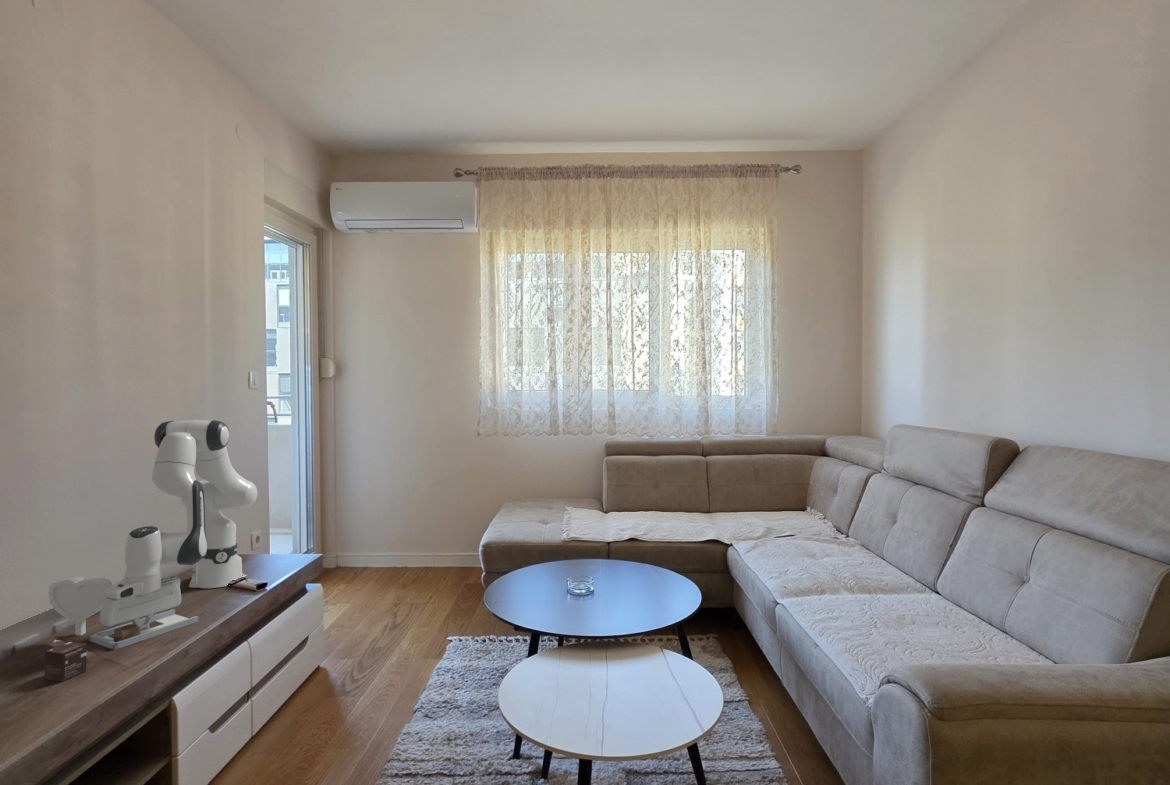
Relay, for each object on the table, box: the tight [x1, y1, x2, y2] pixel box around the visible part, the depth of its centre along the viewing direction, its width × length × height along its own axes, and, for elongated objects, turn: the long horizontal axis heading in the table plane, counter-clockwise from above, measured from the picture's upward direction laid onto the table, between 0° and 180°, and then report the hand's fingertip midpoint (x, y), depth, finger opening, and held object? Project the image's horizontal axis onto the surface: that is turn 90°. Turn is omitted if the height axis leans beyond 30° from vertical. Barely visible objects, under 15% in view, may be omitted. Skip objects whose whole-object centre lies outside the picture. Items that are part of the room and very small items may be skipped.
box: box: [44, 641, 87, 682], centre depth 154 cm, size 6×6×7 cm
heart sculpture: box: [48, 575, 113, 644], centre depth 175 cm, size 16×5×18 cm, turn 93°
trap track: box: [88, 608, 199, 651], centre depth 178 cm, size 23×13×3 cm, turn 154°
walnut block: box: [113, 624, 140, 642], centre depth 172 cm, size 4×4×4 cm
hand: (142, 630), depth 175 cm, fingers closed
